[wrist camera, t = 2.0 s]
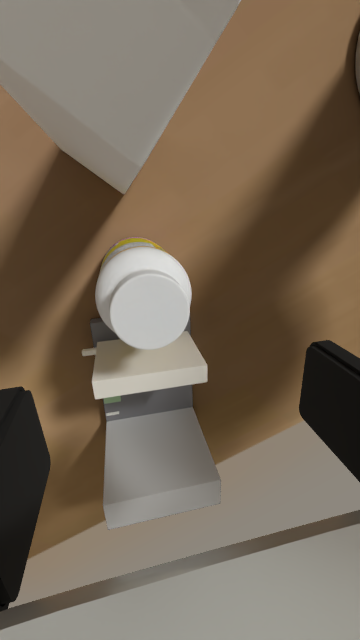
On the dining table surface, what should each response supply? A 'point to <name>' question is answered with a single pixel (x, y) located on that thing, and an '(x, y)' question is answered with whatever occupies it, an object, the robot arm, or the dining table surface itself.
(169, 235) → the dining table surface
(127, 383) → the cream flat slab
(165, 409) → the grey l-shaped piece
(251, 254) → the dining table surface
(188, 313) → the supplement bottle
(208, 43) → the milk
